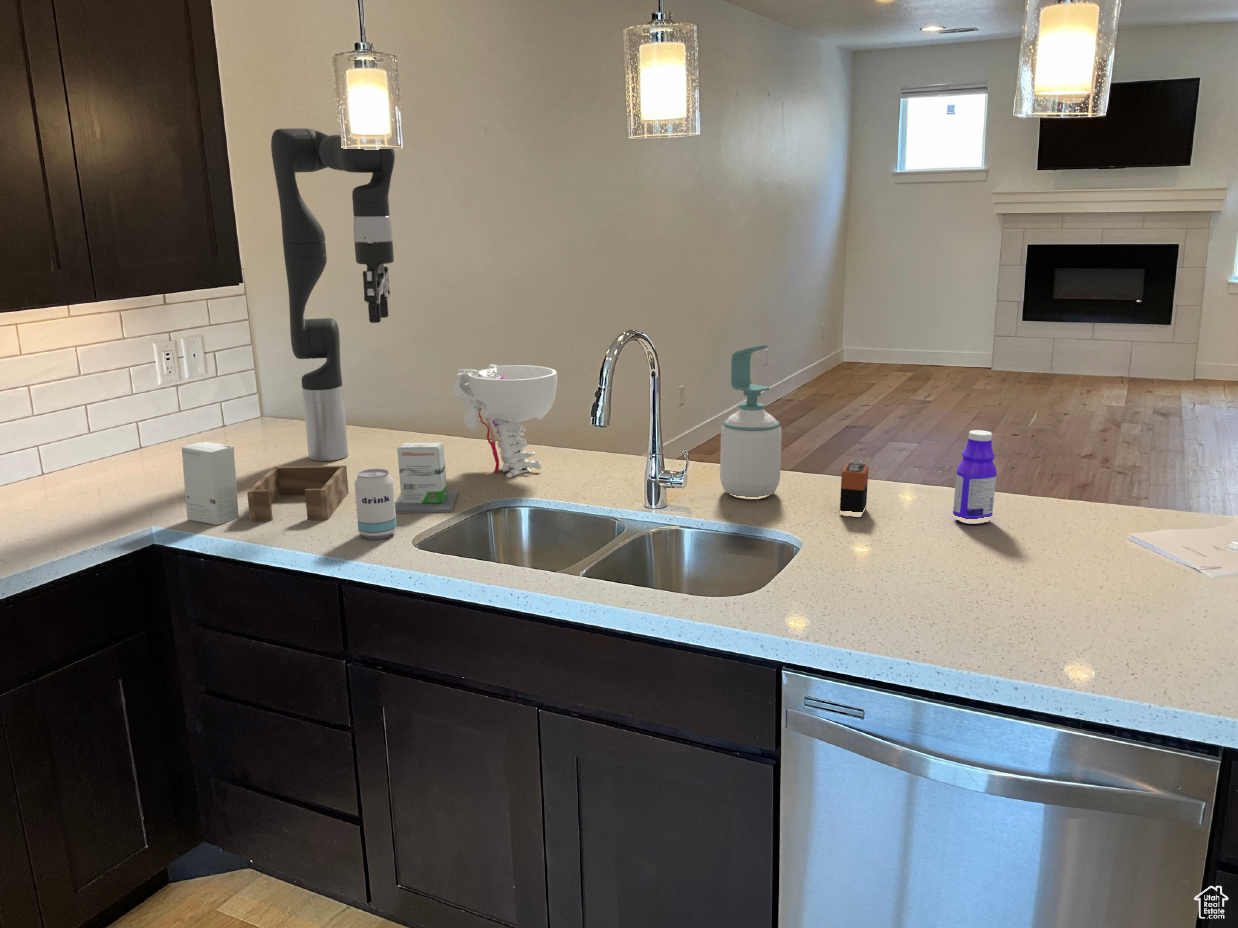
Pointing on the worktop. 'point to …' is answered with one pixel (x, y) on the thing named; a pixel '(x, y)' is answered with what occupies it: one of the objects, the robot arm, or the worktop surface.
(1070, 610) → the worktop surface
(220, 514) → the skincare box
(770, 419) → the soap bottle
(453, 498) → the mat
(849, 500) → the battery
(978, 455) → the bottle
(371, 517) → the beverage can
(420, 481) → the ink box
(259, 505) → the crate
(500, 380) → the skull
